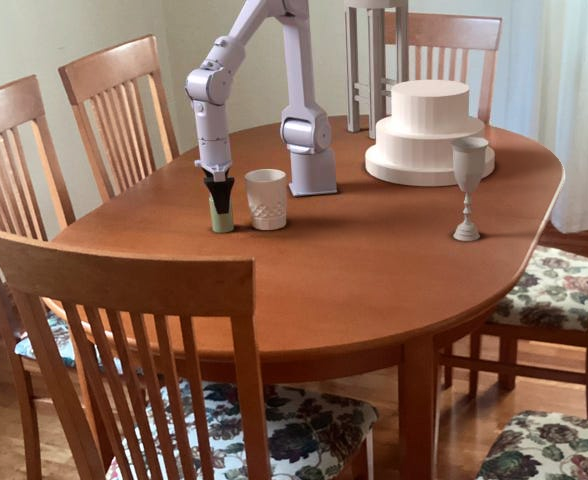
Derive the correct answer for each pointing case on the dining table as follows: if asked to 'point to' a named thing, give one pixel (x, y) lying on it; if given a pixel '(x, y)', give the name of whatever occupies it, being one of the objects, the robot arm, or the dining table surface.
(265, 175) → the white cup
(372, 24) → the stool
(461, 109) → the cake
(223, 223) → the salt shaker
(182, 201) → the dining table surface
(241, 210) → the dining table surface
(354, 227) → the dining table surface
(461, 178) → the chalice
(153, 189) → the dining table surface
